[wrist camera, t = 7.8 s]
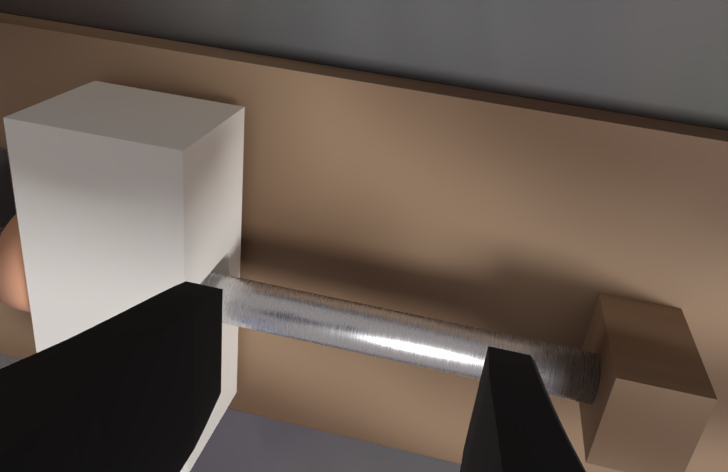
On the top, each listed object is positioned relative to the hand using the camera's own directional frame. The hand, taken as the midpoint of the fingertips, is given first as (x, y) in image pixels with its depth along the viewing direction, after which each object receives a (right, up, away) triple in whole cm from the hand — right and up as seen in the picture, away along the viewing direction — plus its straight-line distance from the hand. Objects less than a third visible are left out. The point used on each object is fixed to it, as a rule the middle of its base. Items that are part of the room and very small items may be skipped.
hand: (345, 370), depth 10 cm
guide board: (-2, +2, +9) cm, 9 cm away
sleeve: (-5, +2, +8) cm, 10 cm away
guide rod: (-3, +1, +7) cm, 8 cm away
